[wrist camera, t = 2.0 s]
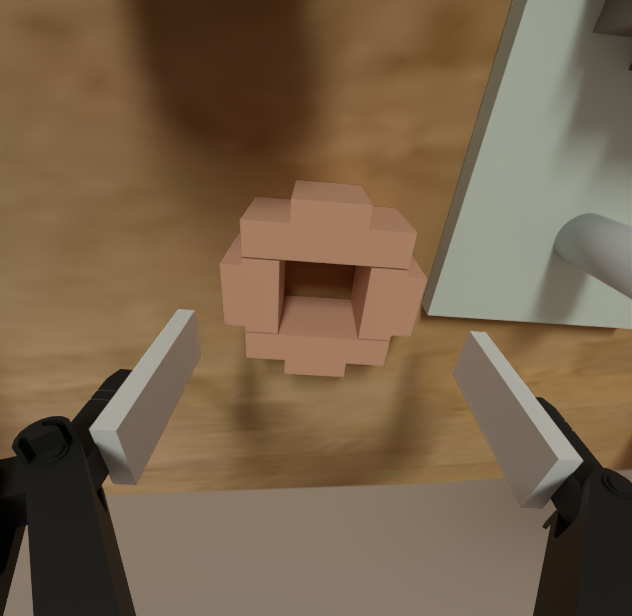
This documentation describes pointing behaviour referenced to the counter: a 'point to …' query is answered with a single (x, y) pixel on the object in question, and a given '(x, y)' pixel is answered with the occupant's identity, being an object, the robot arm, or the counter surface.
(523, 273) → the board
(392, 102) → the counter surface
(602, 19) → the gear
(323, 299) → the gear
